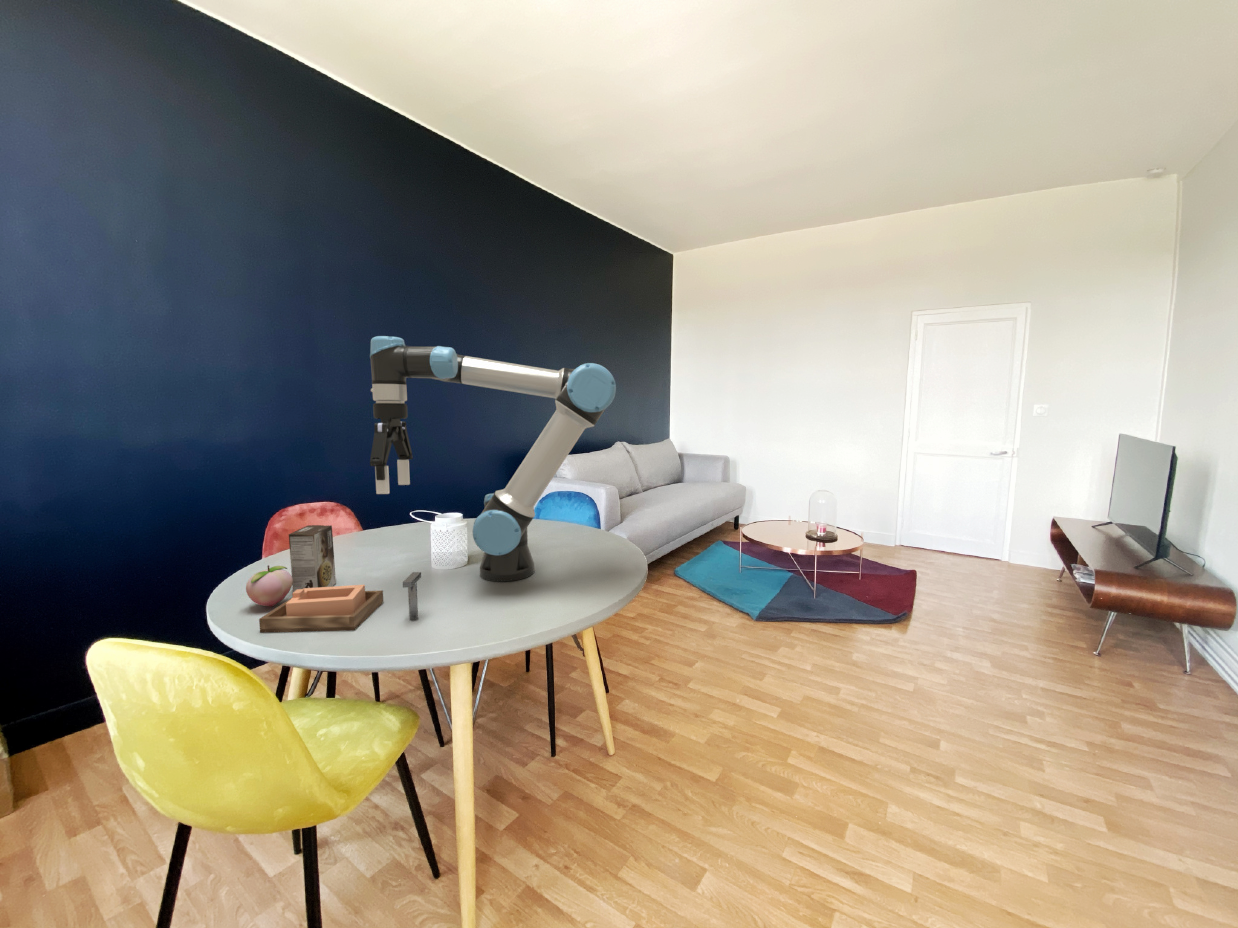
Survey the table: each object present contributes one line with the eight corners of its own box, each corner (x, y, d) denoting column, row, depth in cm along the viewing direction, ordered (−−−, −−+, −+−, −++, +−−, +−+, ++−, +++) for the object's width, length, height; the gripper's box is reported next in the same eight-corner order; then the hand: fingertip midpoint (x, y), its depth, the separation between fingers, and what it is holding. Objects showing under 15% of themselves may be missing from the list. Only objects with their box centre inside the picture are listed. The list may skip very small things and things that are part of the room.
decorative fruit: (267, 598, 120) (264, 558, 119) (300, 599, 120) (297, 559, 119) (237, 614, 111) (233, 571, 110) (272, 615, 111) (269, 572, 110)
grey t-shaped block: (422, 612, 113) (421, 572, 111) (413, 625, 106) (411, 581, 105) (414, 613, 112) (412, 572, 111) (404, 625, 106) (402, 582, 105)
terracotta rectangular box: (365, 602, 116) (364, 580, 116) (353, 618, 107) (352, 594, 107) (304, 607, 113) (303, 584, 113) (287, 623, 105) (285, 599, 104)
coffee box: (311, 584, 130) (307, 524, 128) (336, 583, 131) (333, 524, 129) (291, 597, 121) (287, 533, 119) (319, 596, 122) (314, 533, 120)
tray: (383, 602, 119) (382, 590, 118) (354, 630, 104) (353, 616, 103) (301, 604, 117) (300, 592, 117) (260, 632, 102) (259, 618, 102)
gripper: (393, 402, 131) (397, 481, 134) (349, 401, 106) (355, 498, 109) (422, 403, 132) (425, 481, 134) (385, 402, 107) (390, 497, 109)
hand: (394, 489), depth 122 cm, fingers open, 13 cm apart
